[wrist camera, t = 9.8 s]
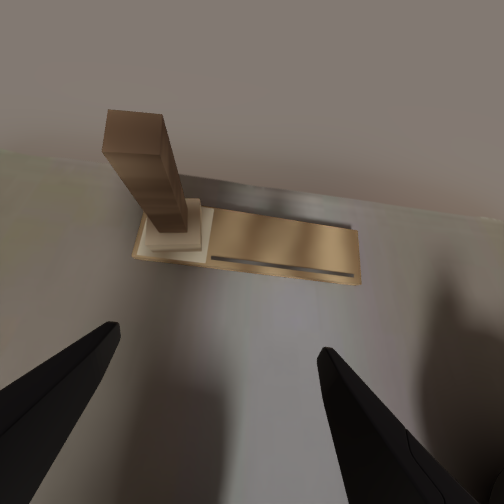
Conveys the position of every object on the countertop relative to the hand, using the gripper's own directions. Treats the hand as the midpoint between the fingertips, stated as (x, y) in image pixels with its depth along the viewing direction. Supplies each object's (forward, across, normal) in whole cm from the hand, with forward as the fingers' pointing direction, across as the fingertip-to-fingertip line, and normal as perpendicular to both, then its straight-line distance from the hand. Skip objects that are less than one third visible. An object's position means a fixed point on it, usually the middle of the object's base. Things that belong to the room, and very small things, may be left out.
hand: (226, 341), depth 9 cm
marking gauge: (+15, +6, +2) cm, 17 cm away
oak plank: (+16, -3, +3) cm, 17 cm away
